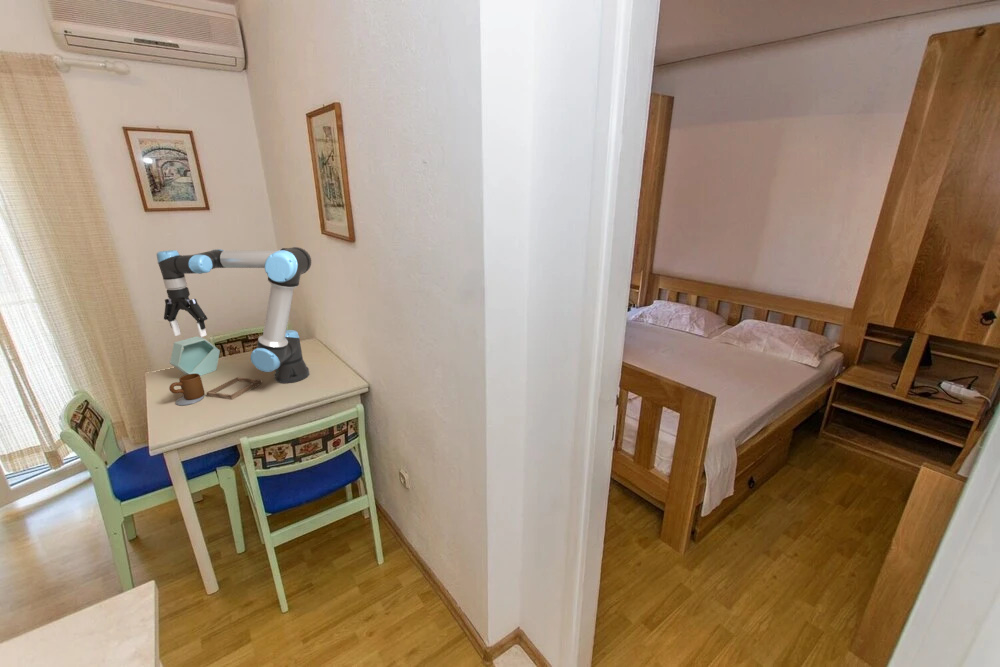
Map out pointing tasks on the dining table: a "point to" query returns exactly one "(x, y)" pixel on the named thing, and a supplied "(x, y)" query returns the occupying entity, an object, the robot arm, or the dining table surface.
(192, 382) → the mug
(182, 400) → the coaster
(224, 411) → the dining table surface
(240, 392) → the brown wooden frame
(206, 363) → the planter
